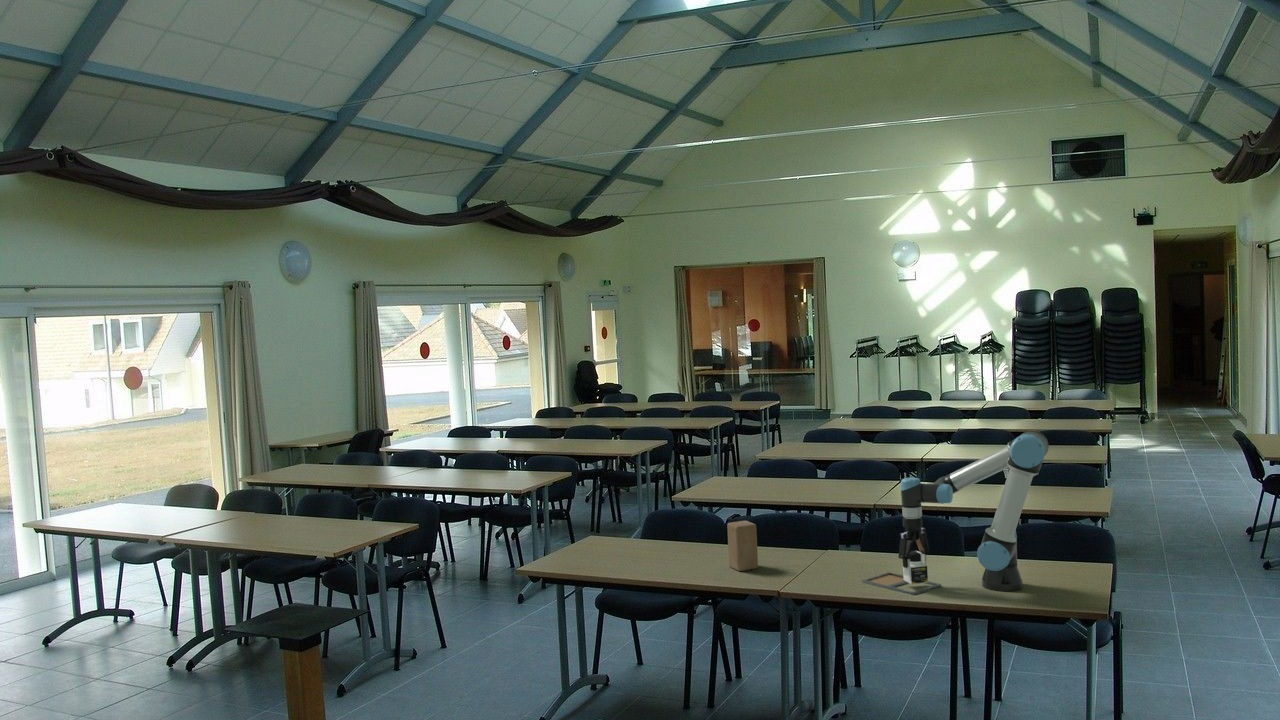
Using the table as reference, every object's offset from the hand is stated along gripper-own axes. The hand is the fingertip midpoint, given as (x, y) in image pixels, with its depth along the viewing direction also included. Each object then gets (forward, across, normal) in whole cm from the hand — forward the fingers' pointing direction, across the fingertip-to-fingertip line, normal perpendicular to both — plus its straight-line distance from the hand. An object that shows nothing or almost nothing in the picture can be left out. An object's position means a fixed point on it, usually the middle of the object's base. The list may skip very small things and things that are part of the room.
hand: (915, 572), depth 389 cm
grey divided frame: (+6, 0, -7) cm, 9 cm away
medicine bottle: (+4, 0, 0) cm, 4 cm away
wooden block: (+5, +27, -72) cm, 77 cm away
